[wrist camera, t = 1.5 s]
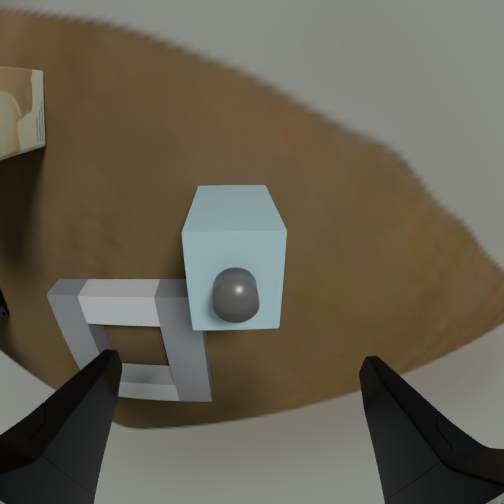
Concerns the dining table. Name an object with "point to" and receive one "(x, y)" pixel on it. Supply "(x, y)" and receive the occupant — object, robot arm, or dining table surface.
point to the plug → (234, 258)
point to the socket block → (137, 314)
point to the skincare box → (21, 111)
